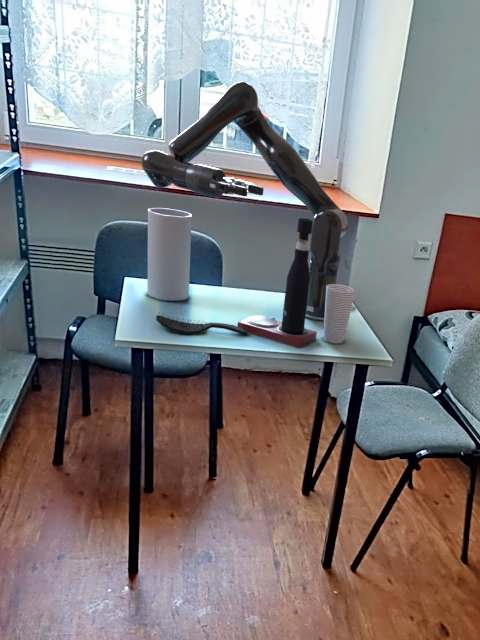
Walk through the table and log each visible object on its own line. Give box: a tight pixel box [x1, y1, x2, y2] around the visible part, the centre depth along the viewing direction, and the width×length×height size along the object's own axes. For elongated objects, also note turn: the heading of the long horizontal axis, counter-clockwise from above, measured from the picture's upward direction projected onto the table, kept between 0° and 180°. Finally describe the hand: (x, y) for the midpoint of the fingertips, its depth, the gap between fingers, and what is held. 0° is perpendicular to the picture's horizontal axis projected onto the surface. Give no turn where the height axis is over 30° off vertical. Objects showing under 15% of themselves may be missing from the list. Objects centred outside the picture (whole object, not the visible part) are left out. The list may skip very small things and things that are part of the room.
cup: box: [322, 283, 356, 344], centre depth 191 cm, size 8×8×16 cm
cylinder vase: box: [147, 207, 193, 302], centre depth 201 cm, size 12×12×25 cm
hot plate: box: [237, 314, 318, 348], centre depth 190 cm, size 12×20×3 cm, turn 66°
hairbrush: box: [155, 311, 249, 336], centre depth 182 cm, size 8×4×25 cm
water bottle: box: [281, 217, 313, 333], centre depth 181 cm, size 6×6×30 cm
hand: (254, 191), depth 182 cm, fingers open, 8 cm apart
